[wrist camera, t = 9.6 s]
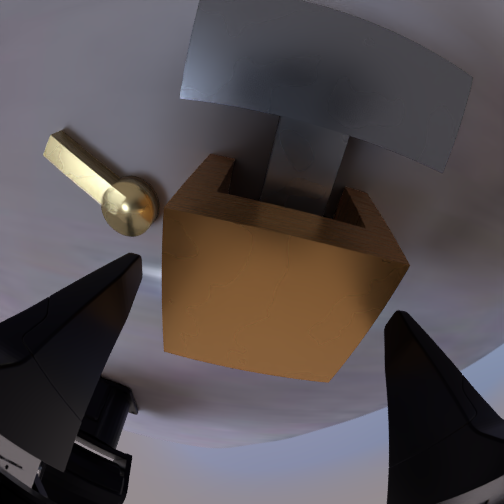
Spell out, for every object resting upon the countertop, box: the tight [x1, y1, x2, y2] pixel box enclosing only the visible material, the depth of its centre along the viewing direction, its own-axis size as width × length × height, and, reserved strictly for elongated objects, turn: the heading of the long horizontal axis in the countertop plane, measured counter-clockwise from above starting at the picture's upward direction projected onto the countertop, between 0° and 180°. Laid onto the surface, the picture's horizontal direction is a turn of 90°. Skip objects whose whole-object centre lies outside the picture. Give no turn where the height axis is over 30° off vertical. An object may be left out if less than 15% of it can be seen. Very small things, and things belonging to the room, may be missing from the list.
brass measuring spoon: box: [43, 130, 159, 237], centre depth 11 cm, size 7×3×1 cm, turn 49°
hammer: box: [180, 0, 473, 216], centre depth 9 cm, size 12×7×4 cm, turn 169°
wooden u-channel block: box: [162, 154, 410, 383], centre depth 10 cm, size 6×6×5 cm
